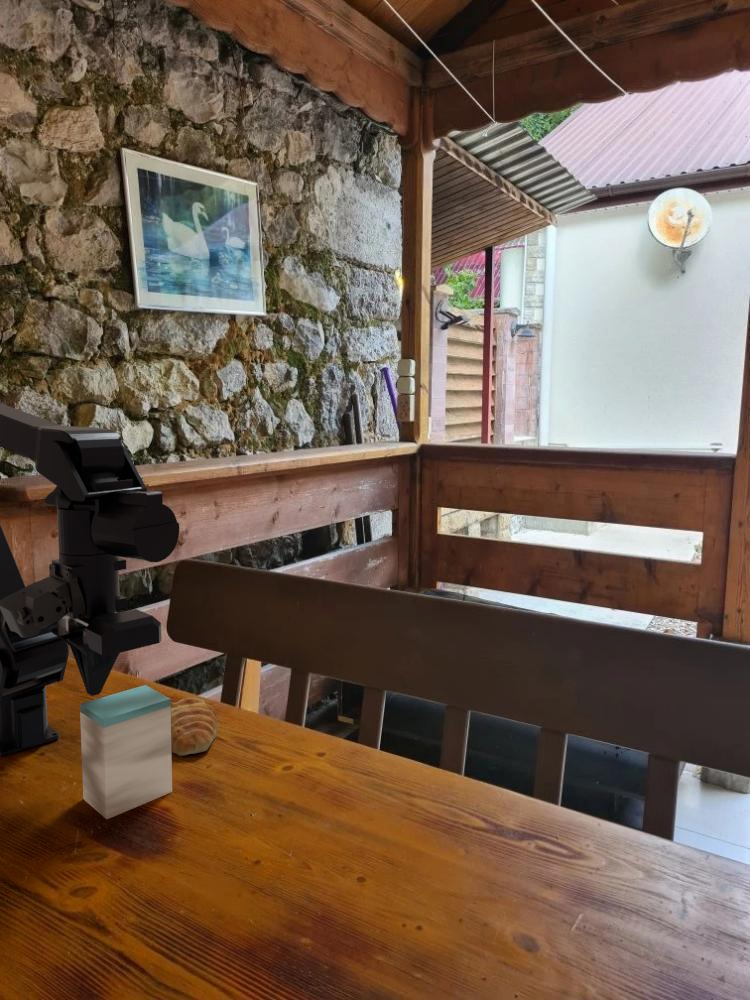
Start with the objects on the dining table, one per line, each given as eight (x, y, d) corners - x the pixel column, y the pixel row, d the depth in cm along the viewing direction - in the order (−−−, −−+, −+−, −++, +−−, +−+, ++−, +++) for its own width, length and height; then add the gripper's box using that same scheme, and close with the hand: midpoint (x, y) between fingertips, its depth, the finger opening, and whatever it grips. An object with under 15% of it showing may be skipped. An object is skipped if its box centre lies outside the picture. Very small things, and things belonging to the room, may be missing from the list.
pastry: (224, 755, 82) (223, 723, 81) (163, 764, 79) (162, 732, 79) (214, 720, 90) (213, 691, 90) (158, 728, 88) (157, 699, 88)
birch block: (83, 799, 72) (79, 703, 70) (147, 774, 77) (145, 684, 75) (106, 819, 68) (103, 719, 67) (172, 791, 73) (170, 698, 72)
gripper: (-27, 547, 75) (-19, 690, 77) (46, 578, 62) (54, 749, 64) (78, 535, 83) (83, 664, 85) (162, 560, 70) (165, 712, 72)
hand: (93, 694), depth 76 cm, fingers closed
